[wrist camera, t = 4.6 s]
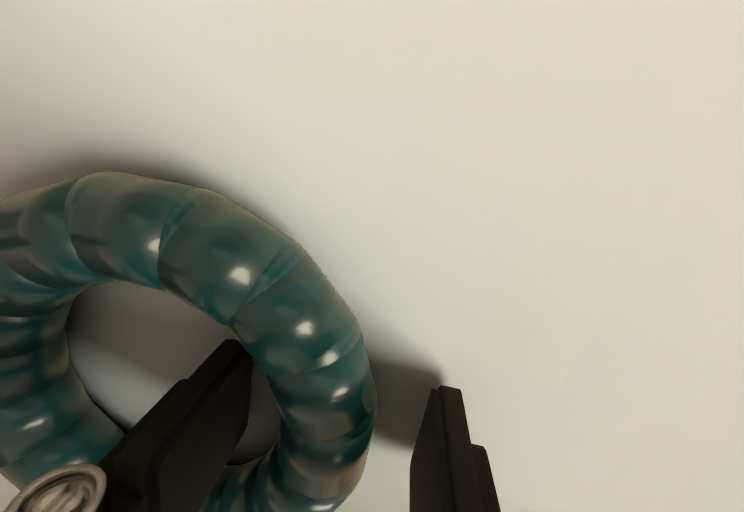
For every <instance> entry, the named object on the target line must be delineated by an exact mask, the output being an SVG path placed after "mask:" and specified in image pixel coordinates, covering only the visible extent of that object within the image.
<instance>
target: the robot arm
mask: <svg viewBox="0 0 744 512" xmlns="http://www.w3.org/2000/svg"><path fill="white" fill-rule="evenodd" d="M251 371H252V357H251V355H250V354H249V353H248V352H247V351H246V350H245V349H244V347H243V346H242V345H241V344H240V343H239V342H238V341H237V340H234V339H229V338H227V339H225V340H224V341H223V342H222V343H221V344H220V345H219V346H218V347H217V349H216V350H215V351H214V352H213V353H212V354H211V355H210V356H209V357H208V358H207V359H206V360H205V361H204V362H203V363H202V365H201V366H200V367H199V368H198V369H197V370H196V371H195V372H194V373H193V374H192V375H191V376H190V377H189V378H188V379H182V380H180V381H178V382H177V383H176V384H175V385H174V386H173V387H172V388H171V389H170V390H169V391H168V392H167V393H166V394H165V395H164V396H163V397H162V398H161V399H160V400H159V401H158V402H157V403H156V404H155V405H154V406H153V407H152V409H151V410H150V411H149V412H148V413H147V414H146V415H145V416H144V417H143V418H142V419H141V420H140V421H139V422H138V423H137V424H136V425H135V426H134V427H133V428H132V429H131V430H130V431H129V432H128V433H127V434H126V435H125V436H124V437H123V438H122V439H121V440H120V442H119V443H118V444H117V445H116V446H115V447H114V448H113V449H112V450H111V451H110V452H109V453H108V454H107V455H106V456H105V457H104V458H103V459H102V460H101V461H100V462H99V463H98V464H97V465H94V464H86V463H78V464H72V465H66V466H64V467H61V468H58V469H55V470H52V471H50V472H48V473H46V474H45V475H43V476H41V477H39V478H37V479H36V480H34V481H33V482H32V483H30V484H29V485H28V486H26V487H25V488H24V489H23V490H22V491H21V492H20V493H19V494H18V495H17V496H16V497H15V498H14V499H13V500H12V501H11V503H10V504H9V505H8V506H7V508H6V509H5V510H4V512H199V510H200V508H201V506H202V505H203V503H204V501H205V499H206V498H207V496H208V494H209V493H210V491H211V489H212V487H213V486H214V484H215V482H216V480H217V479H218V477H219V475H220V473H221V472H222V470H223V468H224V466H225V465H226V463H227V461H228V460H229V458H230V456H231V454H232V453H233V451H234V449H235V447H236V446H237V444H238V442H239V440H240V439H241V437H242V435H243V433H244V431H245V429H246V426H247V423H248V417H249V402H250V387H251ZM410 512H501V511H500V506H499V502H498V498H497V494H496V490H495V485H494V481H493V477H492V473H491V468H490V464H489V460H488V456H487V453H486V450H485V448H484V447H483V446H479V445H475V444H471V441H470V435H469V430H468V425H467V420H466V415H465V409H464V404H463V399H462V394H461V390H460V389H457V388H452V387H447V386H443V385H440V386H439V388H438V390H436V389H432V390H431V392H430V396H429V399H428V403H427V406H426V410H425V413H424V416H423V420H422V423H421V427H420V430H419V434H418V437H417V441H416V444H415V448H414V451H413V455H412V458H411V464H410Z"/></svg>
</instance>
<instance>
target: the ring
mask: <svg viewBox="0 0 744 512" xmlns="http://www.w3.org/2000/svg"><path fill="white" fill-rule="evenodd" d="M112 281H121V282H126V283H130V284H135V285H140V286H144V287H149V288H154V289H158V290H163V291H167V292H169V293H171V294H172V295H174V296H176V297H177V298H179V299H181V300H182V301H184V302H186V303H187V304H189V305H191V306H192V307H194V308H196V309H198V310H199V311H201V312H203V313H204V314H206V315H208V316H209V317H211V318H213V319H214V320H216V321H218V322H219V323H221V324H223V325H224V326H225V327H226V328H227V329H228V330H229V331H230V332H231V334H232V335H233V336H234V337H235V338H236V339H237V341H238V342H239V343H240V344H241V345H242V346H243V347H244V349H245V350H246V351H247V352H248V353H249V354H250V355H251V357H252V358H253V359H254V360H255V361H256V362H257V363H258V365H259V366H260V367H261V368H262V369H263V370H264V371H265V373H266V375H267V378H268V381H269V383H270V386H271V389H272V392H273V394H274V397H275V400H276V402H277V405H278V408H279V411H280V413H281V419H280V428H279V437H278V440H277V441H276V443H275V444H274V445H273V447H272V448H271V449H270V451H269V452H268V453H267V454H265V455H263V456H261V457H258V458H256V459H254V460H252V461H250V462H248V463H246V464H241V465H227V466H224V468H223V470H222V472H221V473H220V475H219V477H218V479H217V480H216V482H215V484H214V486H213V487H212V489H211V491H210V493H209V494H208V496H207V498H206V499H205V501H204V503H203V505H202V506H201V508H200V510H199V512H334V511H335V510H336V509H337V508H338V507H339V506H340V504H341V503H342V502H343V501H344V500H345V499H346V498H347V497H348V496H349V495H350V494H351V492H352V491H353V490H354V489H355V487H356V486H357V484H358V482H359V480H360V478H361V476H362V473H363V471H364V467H365V463H366V458H367V454H368V450H369V445H370V441H371V436H372V432H373V428H374V423H375V419H376V414H377V406H378V398H377V391H376V387H375V383H374V379H373V375H372V372H371V368H370V364H369V360H368V356H367V352H366V348H365V345H364V341H363V337H362V333H361V329H360V327H359V324H358V321H357V319H356V317H355V315H354V314H353V312H352V311H351V309H350V308H349V307H348V305H347V304H346V303H345V301H344V300H343V299H342V298H341V296H340V295H339V294H338V292H337V291H336V290H335V288H334V287H333V286H332V284H331V283H330V282H329V280H328V279H327V278H326V277H325V275H324V274H323V273H322V271H321V270H320V269H319V267H318V266H317V265H316V263H315V262H314V261H313V260H312V258H311V257H310V256H309V254H308V253H307V252H306V251H305V250H304V249H303V248H302V246H301V245H299V244H298V243H297V242H295V241H294V240H293V239H291V238H289V237H288V236H286V235H285V234H283V233H282V232H280V231H278V230H277V229H275V228H274V227H272V226H271V225H269V224H267V223H266V222H264V221H263V220H261V219H259V218H258V217H256V216H255V215H253V214H252V213H250V212H248V211H247V210H245V209H244V208H242V207H240V206H239V205H237V204H236V203H234V202H233V201H231V200H229V199H228V198H226V197H224V196H222V195H221V194H219V193H217V192H214V191H210V190H207V189H204V188H199V187H194V186H189V185H184V184H179V183H174V182H169V181H164V180H159V179H154V178H149V177H144V176H139V175H134V174H129V173H122V172H100V173H94V174H89V175H85V176H81V177H77V178H73V179H70V180H66V181H62V182H58V183H54V184H50V185H46V186H42V187H38V188H34V189H31V190H27V191H23V192H20V193H17V194H15V195H12V196H10V197H8V198H6V199H4V200H2V201H1V202H0V474H2V475H3V476H4V477H5V478H6V479H7V480H9V481H10V482H11V483H12V484H13V485H15V486H16V487H17V488H18V489H19V490H20V491H22V490H23V489H24V488H25V487H26V486H28V485H29V484H30V483H32V482H33V481H34V480H36V479H37V478H39V477H41V476H43V475H45V474H46V473H48V472H50V471H52V470H55V469H58V468H61V467H64V466H66V465H72V464H78V463H86V464H94V465H97V464H98V463H99V462H100V461H101V460H102V459H103V458H104V457H105V456H106V455H107V454H108V453H109V452H110V451H111V450H112V449H113V448H114V447H115V446H116V445H117V444H118V443H119V442H120V440H121V439H122V438H123V437H124V436H125V435H126V434H125V433H124V432H123V431H122V430H121V429H120V428H119V427H118V426H117V425H116V424H115V423H114V422H113V421H112V420H110V419H109V418H108V417H107V416H106V415H105V414H104V413H103V412H102V411H101V410H100V409H99V408H98V407H97V406H96V405H95V404H94V403H93V402H92V401H91V399H90V397H89V396H88V394H87V392H86V390H85V389H84V387H83V385H82V383H81V381H80V380H79V378H78V376H77V374H76V373H75V371H74V369H73V367H72V365H71V364H70V359H69V352H68V346H67V339H66V333H65V323H66V320H67V317H68V314H69V311H70V308H71V305H72V302H73V299H74V298H75V297H76V296H77V295H79V294H80V293H81V292H82V291H83V290H85V289H86V288H87V287H88V286H90V285H96V284H101V283H106V282H112Z"/></svg>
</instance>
